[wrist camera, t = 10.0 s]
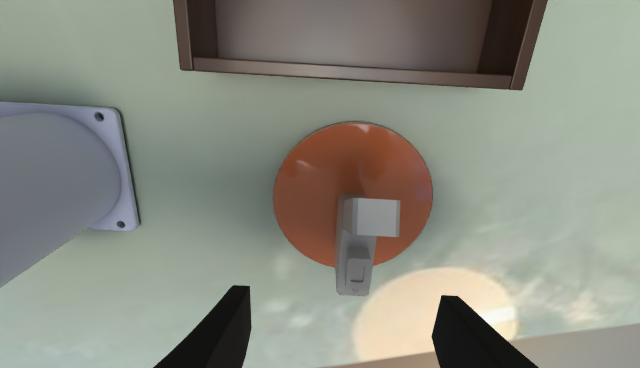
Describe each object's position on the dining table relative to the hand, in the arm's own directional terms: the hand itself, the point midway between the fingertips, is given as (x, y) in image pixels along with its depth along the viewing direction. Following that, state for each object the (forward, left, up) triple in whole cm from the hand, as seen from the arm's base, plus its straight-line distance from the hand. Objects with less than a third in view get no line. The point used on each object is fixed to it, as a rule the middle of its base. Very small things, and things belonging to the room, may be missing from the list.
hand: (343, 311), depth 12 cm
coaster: (+1, +1, -9) cm, 9 cm away
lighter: (+1, +1, -9) cm, 9 cm away
